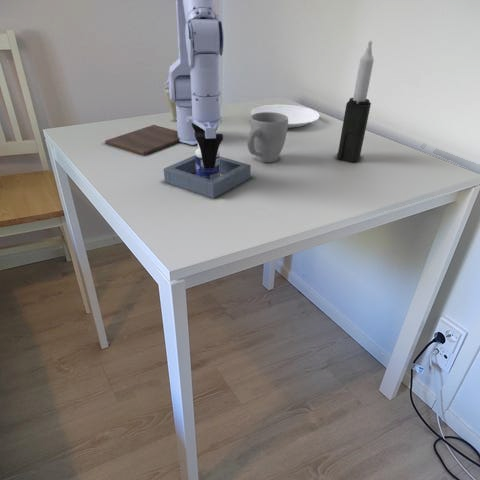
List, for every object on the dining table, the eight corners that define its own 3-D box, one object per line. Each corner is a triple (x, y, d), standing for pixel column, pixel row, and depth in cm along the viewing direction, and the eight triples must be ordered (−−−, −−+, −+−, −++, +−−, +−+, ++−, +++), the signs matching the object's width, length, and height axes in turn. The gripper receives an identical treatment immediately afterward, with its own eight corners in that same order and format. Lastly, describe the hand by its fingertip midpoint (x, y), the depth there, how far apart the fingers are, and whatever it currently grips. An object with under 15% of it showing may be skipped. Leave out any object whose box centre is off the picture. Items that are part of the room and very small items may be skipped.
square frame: (203, 164, 102) (203, 151, 100) (250, 178, 96) (250, 164, 94) (164, 182, 93) (163, 168, 91) (213, 198, 88) (213, 184, 86)
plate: (246, 112, 137) (246, 104, 136) (309, 111, 139) (310, 104, 138) (255, 132, 122) (255, 123, 120) (326, 131, 124) (327, 123, 122)
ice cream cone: (180, 123, 126) (176, 65, 116) (164, 122, 127) (159, 64, 117) (185, 118, 130) (182, 62, 120) (169, 117, 131) (165, 61, 121)
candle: (360, 156, 108) (384, 40, 92) (356, 163, 105) (380, 43, 89) (341, 153, 110) (361, 38, 94) (336, 159, 106) (356, 41, 90)
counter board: (154, 127, 123) (153, 124, 122) (191, 137, 117) (190, 134, 116) (105, 143, 111) (105, 140, 111) (143, 155, 105) (143, 152, 105)
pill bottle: (196, 175, 97) (194, 134, 91) (219, 175, 97) (218, 134, 91) (196, 185, 93) (194, 143, 87) (220, 184, 93) (220, 143, 87)
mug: (263, 149, 110) (265, 109, 104) (291, 158, 106) (295, 117, 100) (233, 162, 103) (234, 120, 97) (262, 171, 99) (265, 128, 93)
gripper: (182, 85, 88) (186, 151, 97) (188, 103, 77) (192, 176, 86) (216, 84, 89) (217, 150, 98) (226, 102, 78) (226, 174, 87)
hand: (207, 162), depth 92 cm, fingers closed on pill bottle, 5 cm apart
